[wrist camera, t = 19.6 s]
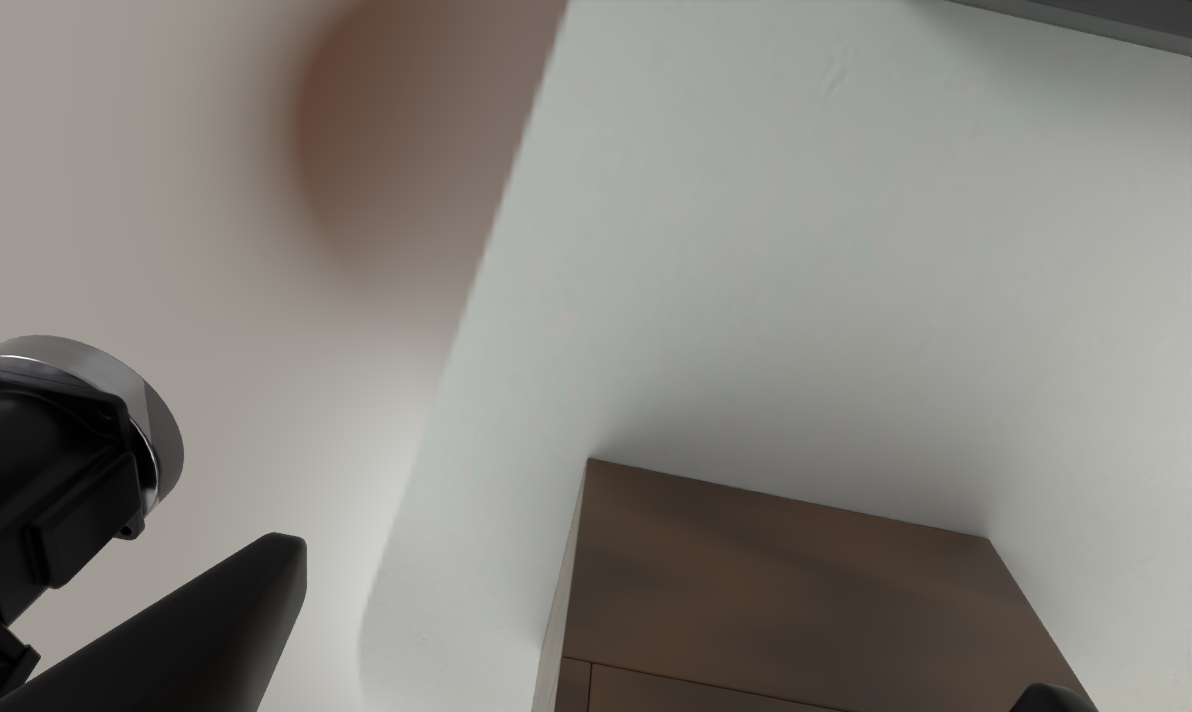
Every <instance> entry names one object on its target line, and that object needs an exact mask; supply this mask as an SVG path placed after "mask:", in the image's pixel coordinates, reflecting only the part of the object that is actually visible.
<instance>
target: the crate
mask: <svg viewBox="0 0 1192 712" xmlns="http://www.w3.org/2000/svg"><path fill="white" fill-rule="evenodd" d="M1035 682H1042V683H1047V684H1052V685H1058V686H1063V687H1066V688H1069V689H1071V690H1073V691H1074V692H1076V693H1077V694H1078V695H1079V696H1080V697H1082V698H1083V699H1084V700H1085V701H1086V702H1087V703H1088V704H1089V705H1091V706H1092V707H1093V708H1094V709H1095V710H1096V711H1097V712H1099V711H1098V710H1097V708H1096V707H1095V705H1094V703H1093V702H1092V700H1091V699H1090V697H1089V696H1088V694H1087V692H1086V691H1085V689H1084V688H1083V686H1082V685H1081V683H1080V681H1079V680H1078V678H1077V677H1076V675H1075V674H1074V672H1073V671H1072V669H1071V667H1070V666H1069V664H1068V663H1067V661H1066V660H1065V658H1064V656H1063V655H1062V653H1061V652H1060V650H1059V649H1058V647H1057V645H1056V644H1055V642H1054V641H1053V639H1052V638H1051V636H1050V635H1049V633H1048V631H1047V630H1046V628H1045V627H1044V625H1043V624H1042V622H1041V620H1040V619H1039V617H1038V616H1037V614H1036V613H1035V611H1034V609H1033V608H1032V606H1031V605H1030V603H1029V602H1028V600H1027V599H1026V597H1025V595H1024V594H1023V592H1022V591H1021V589H1020V588H1019V586H1018V584H1017V583H1016V581H1015V580H1014V578H1013V577H1012V575H1011V573H1010V572H1009V570H1008V569H1007V567H1006V566H1005V564H1004V563H1003V561H1002V559H1001V558H1000V556H999V555H998V553H997V552H996V550H995V548H994V547H993V545H992V544H991V542H990V541H989V540H988V539H984V538H979V537H974V536H969V535H964V534H959V533H954V532H949V531H944V530H940V529H935V528H930V527H925V526H920V525H915V524H910V523H905V522H900V521H895V520H890V519H885V518H880V517H875V516H870V515H865V514H860V513H855V512H851V511H846V510H841V509H836V508H831V507H826V506H821V505H816V504H811V503H806V502H801V501H796V500H791V499H786V498H781V497H776V496H771V495H766V494H762V493H757V492H752V491H747V490H742V489H737V488H732V487H727V486H722V485H717V484H712V483H707V482H702V481H697V480H692V479H687V478H682V477H678V476H673V475H668V474H663V473H658V472H653V471H648V470H643V469H638V468H633V467H628V466H623V465H618V464H613V463H608V462H603V461H598V460H593V459H587V461H586V465H585V469H584V473H583V477H582V482H581V486H580V490H579V494H578V499H577V503H576V507H575V511H574V515H573V520H572V524H571V528H570V532H569V536H568V541H567V545H566V549H565V553H564V558H563V562H562V566H561V570H560V574H559V579H558V583H557V587H556V591H555V596H554V600H553V604H552V608H551V612H550V617H549V621H548V625H547V629H546V634H545V638H544V642H543V646H542V650H541V655H540V661H539V668H538V674H537V680H536V686H535V692H534V698H533V705H532V711H531V712H1009V711H1010V709H1011V708H1012V707H1013V705H1014V704H1015V703H1016V702H1017V700H1018V699H1019V698H1020V696H1021V695H1022V694H1023V692H1024V691H1025V690H1026V688H1027V687H1028V686H1029V685H1031V684H1033V683H1035Z"/></svg>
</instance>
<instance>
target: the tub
mask: <svg viewBox="0 0 1192 712" xmlns="http://www.w3.org/2000/svg"><path fill="white" fill-rule="evenodd" d="M945 1H950V2H954V3H958V4H963V5H967V6H972V7H976V8H980V9H985V10H989V11H993V12H998V13H1002V14H1007V15H1011V16H1015V17H1020V18H1024V19H1028V20H1033V21H1037V22H1042V23H1046V24H1050V25H1055V26H1059V27H1063V28H1068V29H1072V30H1077V31H1081V32H1085V33H1090V34H1094V35H1098V36H1103V37H1107V38H1112V39H1116V40H1120V41H1125V42H1129V43H1133V44H1138V45H1142V46H1147V47H1151V48H1155V49H1160V50H1164V51H1168V52H1173V53H1177V54H1182V55H1186V56H1190V57H1192V0H945Z"/></svg>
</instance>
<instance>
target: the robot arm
mask: <svg viewBox="0 0 1192 712" xmlns="http://www.w3.org/2000/svg"><path fill="white" fill-rule="evenodd" d="M107 406H108V407H109V408H110V409H111V410H110V409H109V408H108V407H107ZM144 528H145V523H144V516H143V510H142V501H141V494H140V487H139V480H138V473H137V467H136V460H135V455H134V448H133V441H132V434H131V427H130V420H129V413H128V408H127V405H126V403H125V402H124V400H123V399H122V398H120V397H119V396H117V395H114V394H111V393H107V392H102V391H97V390H92V389H87V388H82V387H77V386H72V385H67V384H62V383H57V382H52V381H47V380H42V379H37V378H32V377H27V376H22V375H17V374H12V373H7V372H2V371H0V712H257V709H258V707H259V705H260V702H261V700H262V698H263V695H264V693H265V691H266V688H267V686H268V684H269V681H270V679H271V677H272V674H273V672H274V670H275V668H276V665H277V663H278V661H279V658H280V656H281V654H282V651H283V649H284V647H285V644H286V642H287V640H288V637H289V635H290V633H291V631H292V628H293V626H294V624H295V621H296V619H297V616H298V615H299V612H300V610H301V607H302V605H303V602H304V599H305V595H306V589H307V546H306V542H305V540H304V539H302V538H300V537H296V536H291V535H286V534H281V533H275V532H273V533H269V534H266V535H264V536H262V537H260V538H259V539H257V540H256V541H254V542H252V543H251V544H249V545H248V546H246V547H244V548H243V549H241V550H239V551H238V552H236V553H235V554H233V555H231V556H230V557H228V558H227V559H225V560H223V561H222V562H220V563H219V564H217V565H215V566H214V567H212V568H210V569H209V570H207V571H206V572H204V573H202V574H201V575H199V576H198V577H196V578H194V579H193V580H191V581H190V582H188V583H186V584H185V585H183V586H182V587H180V588H178V589H177V590H175V591H173V592H172V593H171V594H169V595H167V596H165V597H164V598H162V599H161V600H159V601H158V602H156V603H154V604H153V605H151V606H149V607H148V608H146V609H144V610H143V611H141V612H140V613H138V614H137V615H135V616H133V617H132V618H130V619H128V620H127V621H125V622H124V623H122V624H120V625H119V626H117V627H115V628H114V629H112V630H111V631H109V632H108V633H106V634H104V635H103V636H101V637H99V638H98V639H96V640H95V641H93V642H91V643H90V644H88V645H86V646H85V647H83V648H82V649H80V650H78V651H77V652H75V653H74V654H72V655H70V656H69V657H67V658H66V659H64V660H62V661H61V662H59V663H57V664H56V665H54V666H53V667H51V668H50V669H48V670H46V671H45V672H43V673H41V674H40V675H38V676H37V677H35V678H33V679H32V680H30V681H28V682H27V683H25V682H26V680H27V679H28V677H29V675H30V674H31V672H32V671H33V669H34V668H35V666H36V665H37V663H38V661H39V660H40V658H41V656H40V654H39V653H38V652H37V651H36V650H34V648H33V647H32V646H31V645H29V644H28V645H24V644H23V643H22V642H21V641H20V640H19V639H18V638H17V637H16V636H15V635H14V634H13V633H12V632H11V631H10V630H9V629H8V627H9V626H10V625H11V624H12V623H13V622H14V621H15V620H16V619H17V618H18V617H19V616H20V615H21V614H22V613H23V612H24V611H25V610H26V609H27V608H28V607H29V606H30V605H31V604H32V603H33V602H34V601H35V600H36V599H37V598H39V597H40V596H41V594H43V592H45V591H46V590H47V589H48V588H51V589H59V588H61V587H62V586H64V585H65V584H67V583H68V582H69V581H70V580H71V579H72V578H73V577H74V576H75V575H76V574H77V573H78V572H79V571H80V570H81V569H82V568H83V567H84V566H85V565H86V564H87V563H88V562H89V561H90V560H91V559H92V558H93V557H94V556H95V555H96V554H97V553H98V552H99V551H100V550H101V549H102V548H103V547H104V546H105V545H106V544H107V543H108V542H109V541H110V540H111V539H112V538H113V537H114V538H119V539H124V540H133V539H136V538H137V537H138V536H139V535H140V534H141V533H142V531H143V530H144ZM24 683H25V684H24ZM1009 712H1097V711H1096V710H1095V709H1094V708H1093V707H1092V706H1091V705H1089V704H1088V703H1087V702H1086V701H1085V700H1084V699H1083V698H1082V697H1080V696H1079V695H1078V694H1077V693H1076V692H1074V691H1073V690H1071V689H1069V688H1066V687H1063V686H1058V685H1052V684H1047V683H1042V682H1035V683H1033V684H1031V685H1029V686H1028V687H1027V688H1026V690H1025V691H1024V692H1023V694H1022V695H1021V696H1020V698H1019V699H1018V700H1017V702H1016V703H1015V704H1014V705H1013V707H1012V708H1011V709H1010V711H1009Z"/></svg>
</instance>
